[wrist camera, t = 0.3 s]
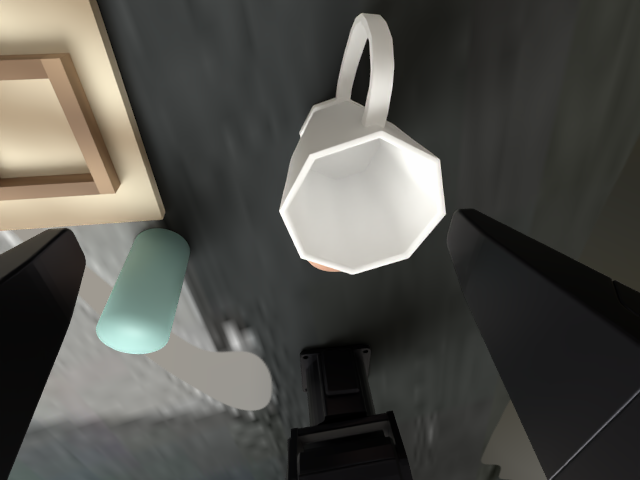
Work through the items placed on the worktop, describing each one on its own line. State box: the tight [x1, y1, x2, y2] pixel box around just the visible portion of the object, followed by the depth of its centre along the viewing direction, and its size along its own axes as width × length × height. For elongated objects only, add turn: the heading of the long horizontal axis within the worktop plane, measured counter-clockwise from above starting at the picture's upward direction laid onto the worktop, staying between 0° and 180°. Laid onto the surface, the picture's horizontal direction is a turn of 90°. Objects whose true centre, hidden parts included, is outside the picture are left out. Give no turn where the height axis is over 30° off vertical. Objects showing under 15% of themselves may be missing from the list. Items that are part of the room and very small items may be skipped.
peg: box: [96, 228, 190, 354], centre depth 23 cm, size 4×4×7 cm
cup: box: [279, 13, 446, 275], centre depth 18 cm, size 7×10×8 cm
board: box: [0, 0, 165, 231], centre depth 19 cm, size 12×10×2 cm
